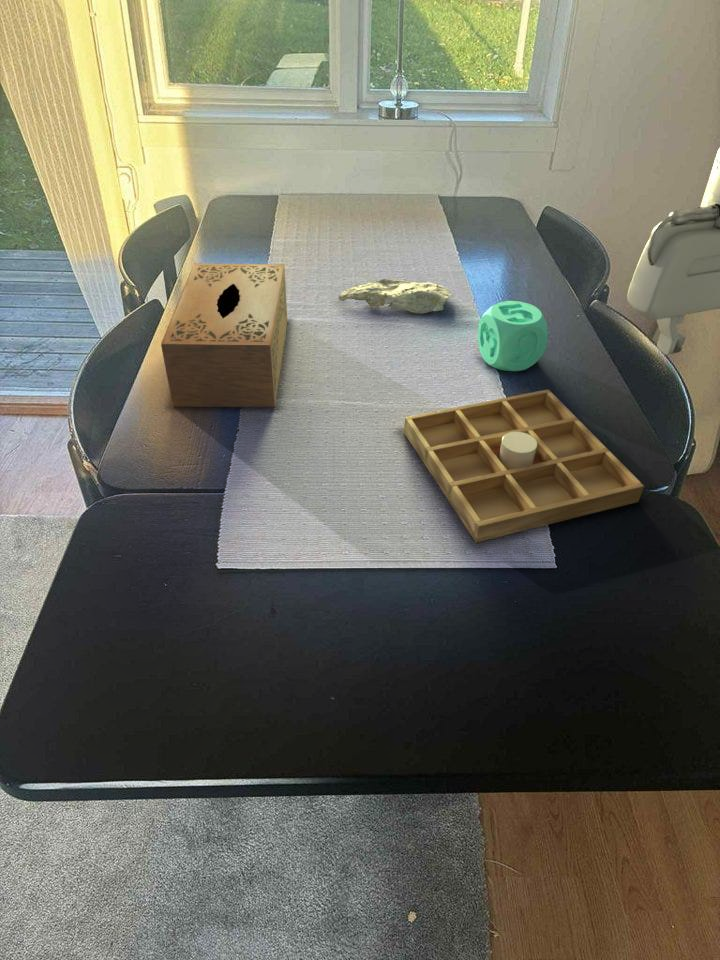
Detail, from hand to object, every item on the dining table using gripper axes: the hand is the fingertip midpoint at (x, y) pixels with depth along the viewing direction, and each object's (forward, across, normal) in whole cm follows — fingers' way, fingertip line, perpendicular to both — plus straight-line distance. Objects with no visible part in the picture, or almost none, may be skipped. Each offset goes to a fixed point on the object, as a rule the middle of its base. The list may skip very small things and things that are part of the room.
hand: (707, 343), depth 69 cm
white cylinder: (+22, -10, +13) cm, 27 cm away
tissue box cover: (+22, -39, +50) cm, 67 cm away
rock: (+22, -7, +60) cm, 64 cm away
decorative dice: (+22, +2, +37) cm, 43 cm away
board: (+22, -10, +13) cm, 28 cm away
